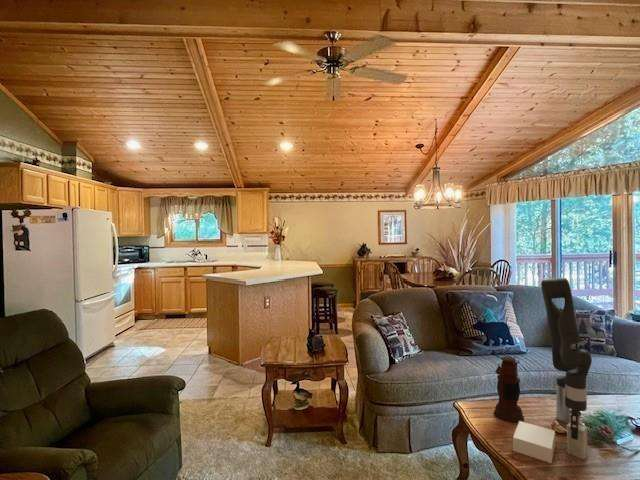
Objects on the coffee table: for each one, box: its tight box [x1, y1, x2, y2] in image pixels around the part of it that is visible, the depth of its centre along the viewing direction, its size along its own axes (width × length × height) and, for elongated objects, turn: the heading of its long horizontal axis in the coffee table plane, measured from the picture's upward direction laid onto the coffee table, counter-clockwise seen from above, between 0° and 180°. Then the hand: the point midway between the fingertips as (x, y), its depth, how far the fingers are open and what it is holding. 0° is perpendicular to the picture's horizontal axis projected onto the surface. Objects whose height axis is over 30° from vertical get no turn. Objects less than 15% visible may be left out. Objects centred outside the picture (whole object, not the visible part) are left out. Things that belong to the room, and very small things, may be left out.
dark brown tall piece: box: [493, 356, 525, 424], centre depth 182 cm, size 17×14×30 cm
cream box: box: [512, 421, 556, 464], centre depth 157 cm, size 16×14×6 cm
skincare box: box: [566, 423, 588, 460], centre depth 151 cm, size 6×4×12 cm
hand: (575, 434), depth 151 cm, fingers open, 8 cm apart
